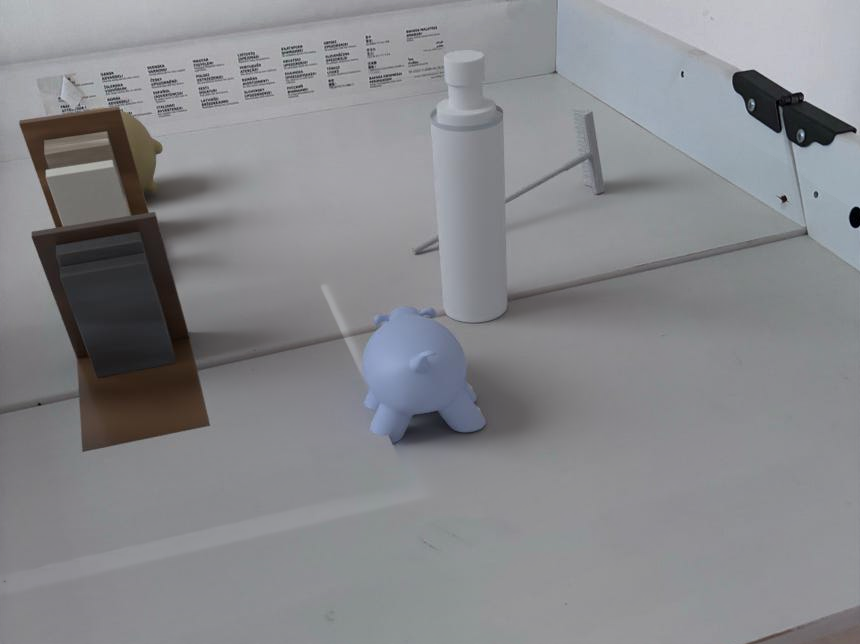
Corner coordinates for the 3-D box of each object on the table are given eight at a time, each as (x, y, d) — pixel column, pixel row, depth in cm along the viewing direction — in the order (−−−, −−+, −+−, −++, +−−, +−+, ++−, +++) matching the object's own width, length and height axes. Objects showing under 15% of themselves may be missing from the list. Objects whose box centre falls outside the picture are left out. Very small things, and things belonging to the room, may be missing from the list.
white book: (77, 261, 111) (45, 169, 103) (139, 250, 112) (112, 159, 105) (77, 269, 109) (45, 176, 102) (140, 258, 110) (113, 166, 103)
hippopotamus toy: (461, 358, 94) (455, 263, 88) (494, 444, 84) (491, 344, 77) (351, 374, 93) (336, 279, 86) (371, 463, 83) (357, 363, 76)
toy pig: (115, 215, 131) (39, 177, 123) (149, 129, 128) (74, 83, 120) (148, 235, 126) (70, 195, 117) (184, 144, 123) (107, 98, 114)
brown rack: (80, 363, 97) (31, 231, 87) (191, 342, 99) (155, 211, 89) (86, 462, 85) (30, 322, 75) (212, 436, 87) (173, 296, 77)
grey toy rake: (411, 283, 116) (386, 206, 110) (586, 184, 123) (573, 106, 117) (427, 291, 114) (403, 213, 107) (605, 190, 121) (593, 110, 114)
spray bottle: (464, 329, 98) (449, 51, 80) (432, 304, 102) (410, 33, 84) (519, 310, 101) (516, 35, 83) (485, 286, 105) (475, 19, 87)
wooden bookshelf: (60, 237, 118) (19, 120, 109) (151, 222, 120) (119, 106, 111) (63, 301, 106) (16, 176, 97) (164, 284, 108) (129, 159, 99)
